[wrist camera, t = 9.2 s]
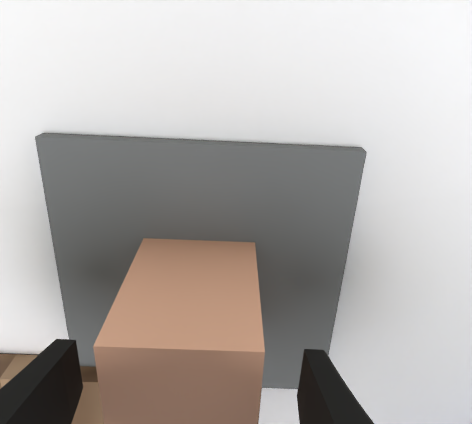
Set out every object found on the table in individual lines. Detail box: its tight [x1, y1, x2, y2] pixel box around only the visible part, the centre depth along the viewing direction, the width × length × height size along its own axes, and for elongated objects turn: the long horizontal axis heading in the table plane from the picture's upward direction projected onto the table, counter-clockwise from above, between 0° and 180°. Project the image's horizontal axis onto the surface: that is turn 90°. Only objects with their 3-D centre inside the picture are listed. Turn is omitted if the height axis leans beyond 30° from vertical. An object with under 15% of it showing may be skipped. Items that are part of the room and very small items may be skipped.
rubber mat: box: [35, 133, 366, 389], centre depth 17 cm, size 12×12×1 cm
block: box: [93, 238, 265, 424], centre depth 14 cm, size 4×4×6 cm
